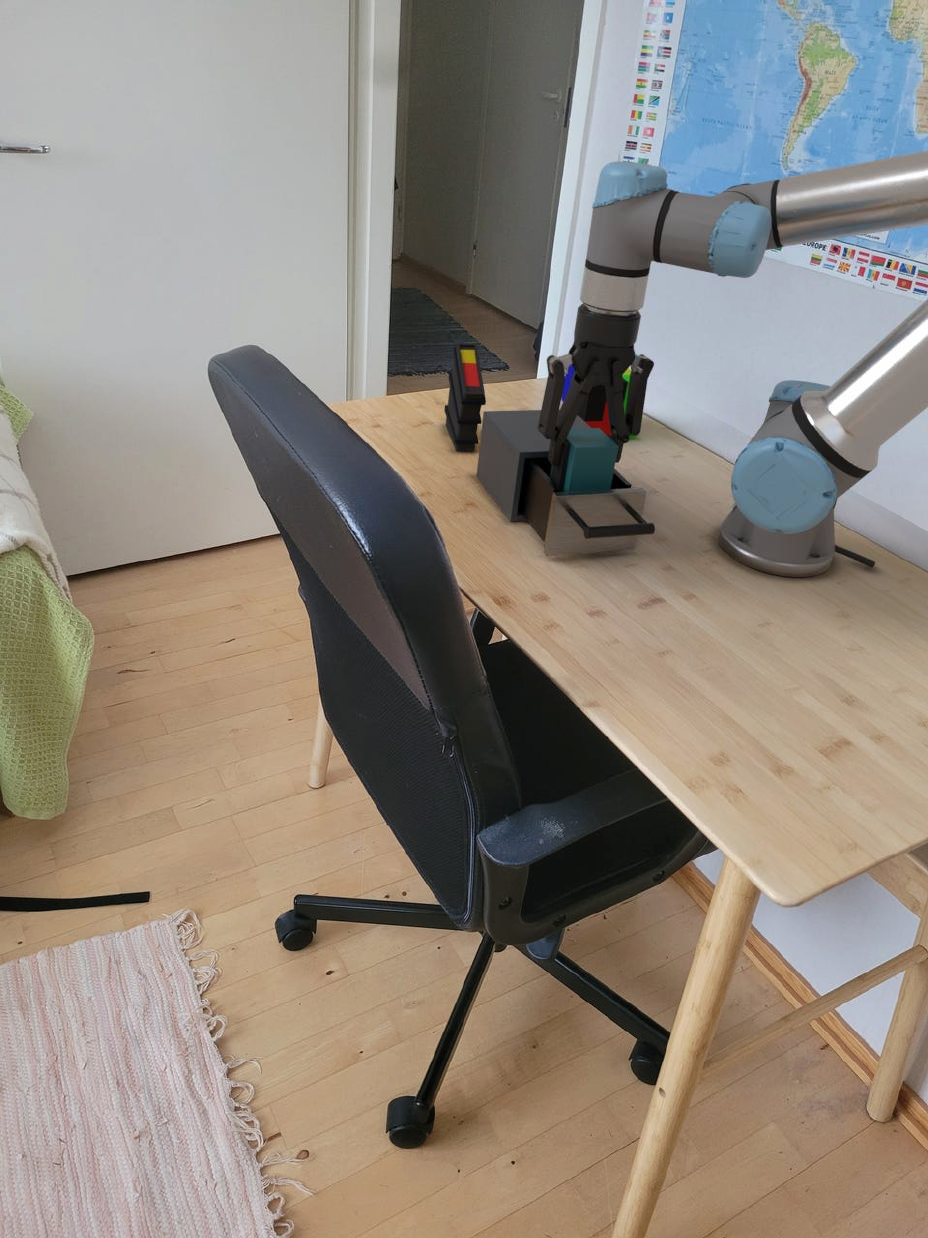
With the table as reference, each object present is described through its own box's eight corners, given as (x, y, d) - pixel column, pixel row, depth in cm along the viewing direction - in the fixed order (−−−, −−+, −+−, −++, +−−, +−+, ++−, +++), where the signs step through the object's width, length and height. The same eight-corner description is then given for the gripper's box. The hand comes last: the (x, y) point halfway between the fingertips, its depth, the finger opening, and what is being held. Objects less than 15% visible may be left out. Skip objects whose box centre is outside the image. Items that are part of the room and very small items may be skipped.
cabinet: (600, 516, 135) (613, 448, 129) (510, 522, 131) (519, 452, 125) (560, 472, 147) (570, 408, 141) (476, 476, 142) (483, 411, 137)
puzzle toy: (558, 418, 167) (567, 362, 161) (610, 416, 170) (620, 361, 164) (581, 440, 159) (590, 382, 153) (634, 438, 162) (646, 381, 156)
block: (590, 476, 128) (599, 427, 125) (609, 496, 124) (618, 445, 120) (549, 478, 127) (557, 429, 123) (567, 498, 122) (575, 447, 118)
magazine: (462, 410, 161) (478, 342, 148) (472, 470, 154) (489, 404, 141) (441, 409, 160) (454, 341, 147) (449, 470, 153) (464, 403, 141)
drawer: (657, 574, 120) (671, 514, 116) (566, 582, 116) (577, 520, 112) (591, 503, 136) (602, 448, 131) (509, 508, 132) (517, 452, 127)
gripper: (665, 299, 118) (631, 470, 131) (524, 297, 113) (502, 477, 125) (695, 316, 112) (657, 494, 125) (548, 315, 107) (523, 502, 119)
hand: (579, 485), depth 125 cm, fingers closed on block, 6 cm apart
